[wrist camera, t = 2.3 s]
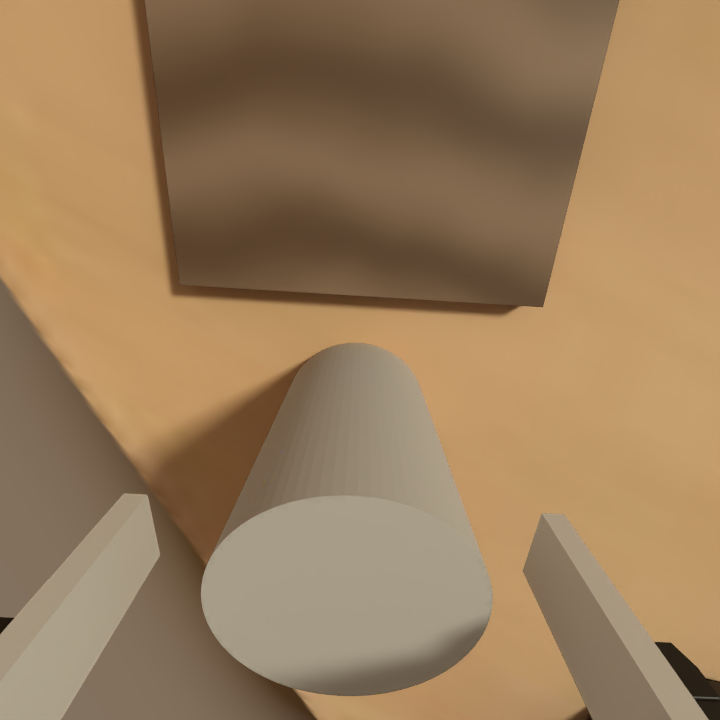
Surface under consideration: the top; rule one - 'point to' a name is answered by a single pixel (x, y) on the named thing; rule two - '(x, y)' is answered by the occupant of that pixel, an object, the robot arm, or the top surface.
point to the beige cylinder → (349, 539)
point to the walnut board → (375, 141)
